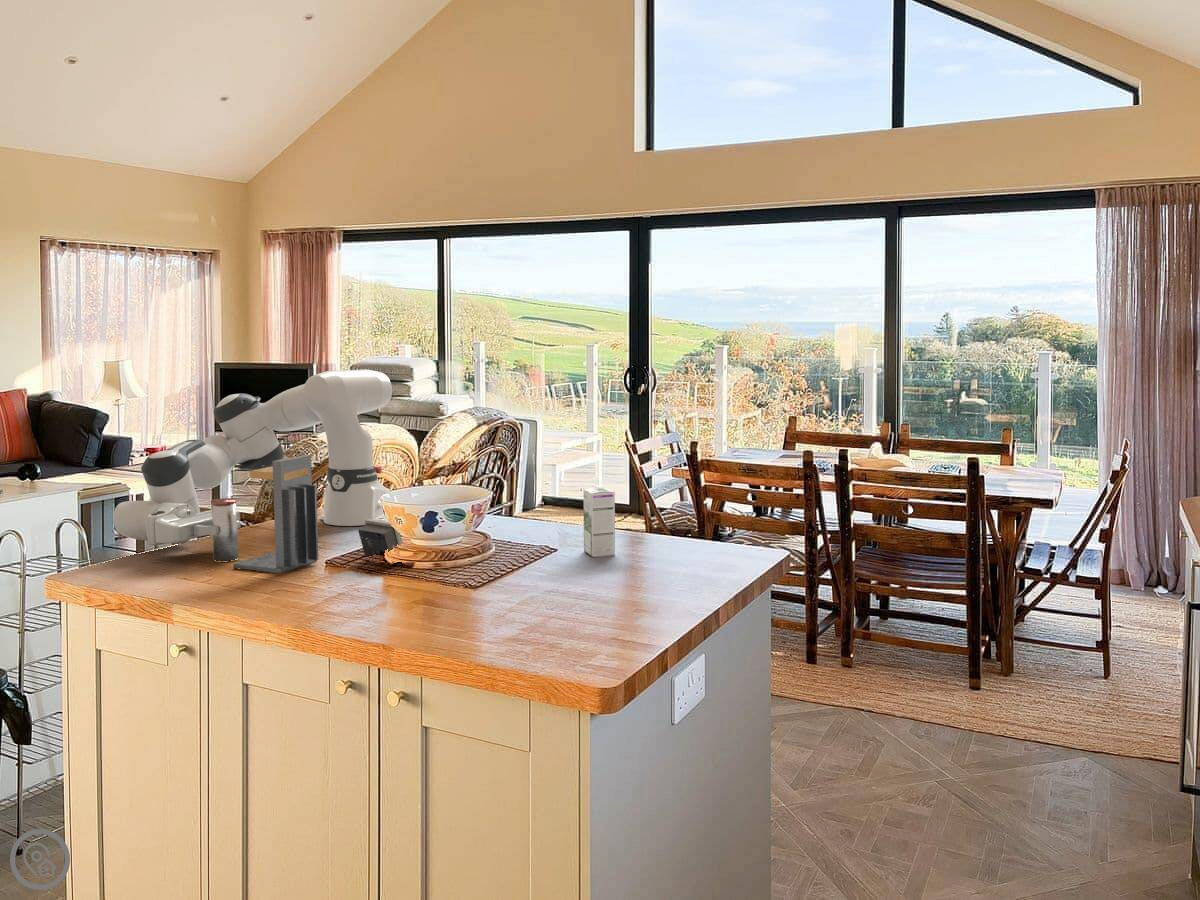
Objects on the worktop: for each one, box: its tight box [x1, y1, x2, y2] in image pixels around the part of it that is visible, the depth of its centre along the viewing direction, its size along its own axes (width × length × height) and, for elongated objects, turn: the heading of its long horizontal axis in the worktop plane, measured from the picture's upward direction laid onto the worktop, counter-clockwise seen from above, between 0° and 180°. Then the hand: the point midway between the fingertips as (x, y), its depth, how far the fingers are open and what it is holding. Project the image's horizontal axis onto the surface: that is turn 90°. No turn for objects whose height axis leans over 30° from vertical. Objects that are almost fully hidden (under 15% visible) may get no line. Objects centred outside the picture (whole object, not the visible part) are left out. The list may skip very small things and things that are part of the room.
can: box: [210, 497, 239, 561], centre depth 218 cm, size 5×5×13 cm
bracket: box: [233, 454, 319, 575], centre depth 212 cm, size 12×14×23 cm
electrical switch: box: [357, 519, 403, 558], centre depth 216 cm, size 9×5×9 cm, turn 57°
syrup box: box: [583, 487, 616, 558], centre depth 225 cm, size 6×6×14 cm
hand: (228, 527), depth 217 cm, fingers closed on can, 5 cm apart
